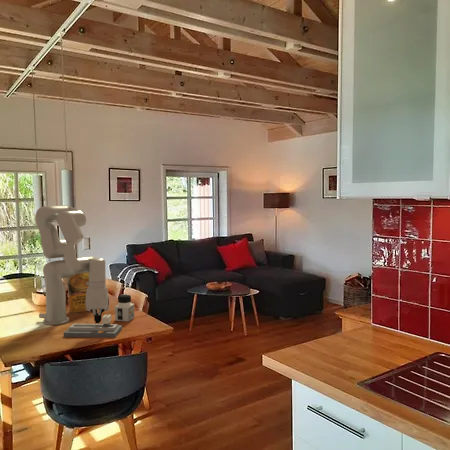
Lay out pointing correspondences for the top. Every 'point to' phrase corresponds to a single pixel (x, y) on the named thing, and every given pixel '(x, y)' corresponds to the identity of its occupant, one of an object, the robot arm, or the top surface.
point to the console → (92, 330)
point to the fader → (106, 320)
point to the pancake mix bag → (77, 292)
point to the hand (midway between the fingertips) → (97, 322)
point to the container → (124, 308)
